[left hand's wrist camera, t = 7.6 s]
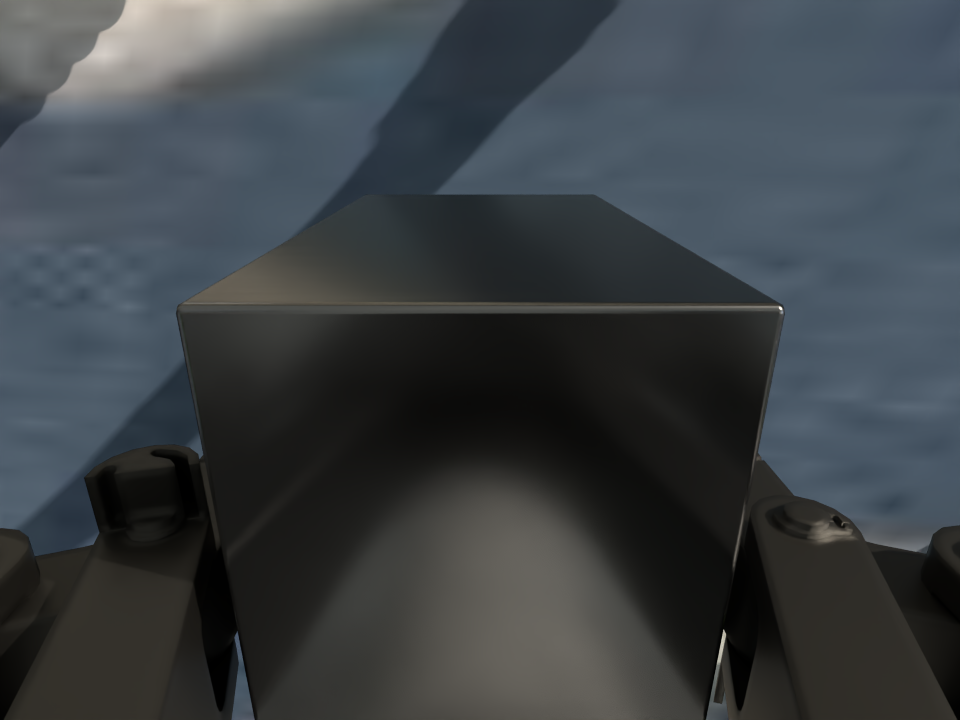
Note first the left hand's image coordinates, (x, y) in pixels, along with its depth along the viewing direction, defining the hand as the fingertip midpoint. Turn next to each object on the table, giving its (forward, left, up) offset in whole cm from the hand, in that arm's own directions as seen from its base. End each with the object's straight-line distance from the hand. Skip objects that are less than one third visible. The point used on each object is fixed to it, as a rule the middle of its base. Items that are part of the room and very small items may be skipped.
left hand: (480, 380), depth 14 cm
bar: (0, +7, -1) cm, 7 cm away
